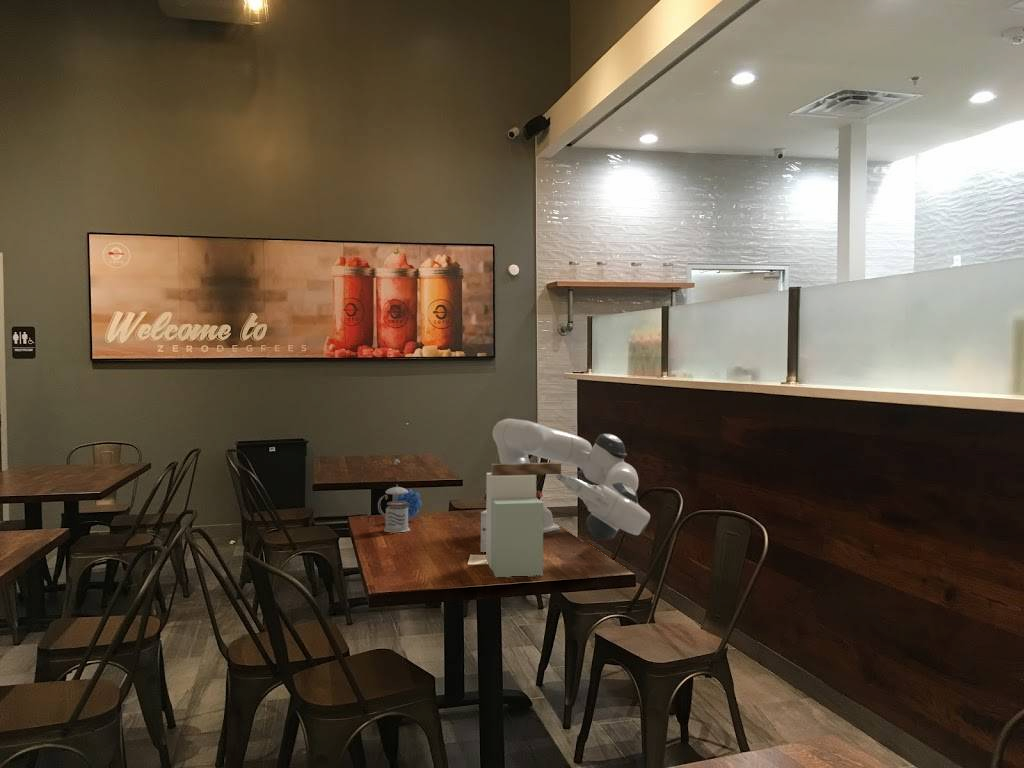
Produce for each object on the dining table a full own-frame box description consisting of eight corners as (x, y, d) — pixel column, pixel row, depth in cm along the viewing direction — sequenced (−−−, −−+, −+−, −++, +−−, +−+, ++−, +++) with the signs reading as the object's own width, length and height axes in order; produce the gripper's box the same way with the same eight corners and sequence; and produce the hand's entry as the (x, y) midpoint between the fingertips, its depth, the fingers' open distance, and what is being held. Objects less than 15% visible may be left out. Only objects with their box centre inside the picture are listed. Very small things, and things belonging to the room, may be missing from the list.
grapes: (419, 518, 292) (419, 486, 291) (423, 521, 285) (423, 489, 285) (389, 520, 288) (388, 488, 288) (391, 523, 282) (391, 491, 281)
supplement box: (479, 553, 236) (479, 512, 236) (488, 547, 243) (488, 507, 243) (502, 555, 234) (502, 513, 234) (510, 549, 241) (510, 509, 241)
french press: (406, 534, 264) (406, 461, 263) (373, 532, 266) (373, 460, 265) (414, 528, 273) (414, 458, 273) (383, 527, 275) (383, 457, 275)
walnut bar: (558, 472, 226) (558, 462, 226) (561, 473, 223) (561, 463, 223) (491, 474, 223) (491, 463, 223) (492, 475, 220) (492, 464, 220)
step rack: (529, 559, 229) (529, 471, 228) (543, 575, 210) (543, 480, 209) (486, 560, 226) (486, 472, 226) (495, 577, 208) (495, 481, 207)
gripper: (605, 516, 216) (563, 492, 214) (586, 503, 236) (548, 482, 234) (616, 496, 216) (574, 472, 214) (596, 485, 237) (558, 464, 234)
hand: (560, 477), depth 224 cm, fingers open, 8 cm apart
